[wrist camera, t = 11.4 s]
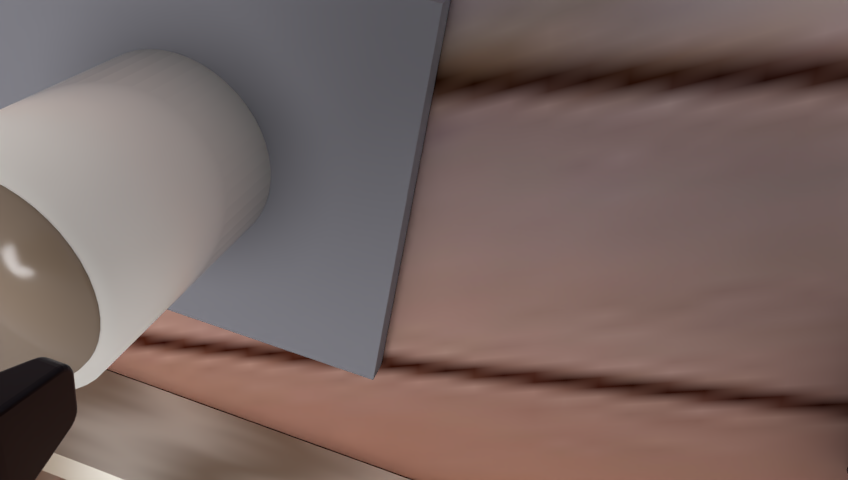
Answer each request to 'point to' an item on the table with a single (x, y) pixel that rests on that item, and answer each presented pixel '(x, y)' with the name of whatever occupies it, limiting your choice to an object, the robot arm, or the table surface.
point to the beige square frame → (183, 442)
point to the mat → (281, 145)
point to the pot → (118, 203)
